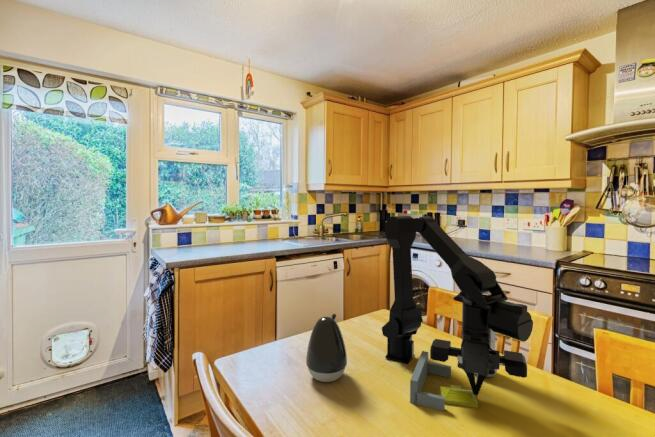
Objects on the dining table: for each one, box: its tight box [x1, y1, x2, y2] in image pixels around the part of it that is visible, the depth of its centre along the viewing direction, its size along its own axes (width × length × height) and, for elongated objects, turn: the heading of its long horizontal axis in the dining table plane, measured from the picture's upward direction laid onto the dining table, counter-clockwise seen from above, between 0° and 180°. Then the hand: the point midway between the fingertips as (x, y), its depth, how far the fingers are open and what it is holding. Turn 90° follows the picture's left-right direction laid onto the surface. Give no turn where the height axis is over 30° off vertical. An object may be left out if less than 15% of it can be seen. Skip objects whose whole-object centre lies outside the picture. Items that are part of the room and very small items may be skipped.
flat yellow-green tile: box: [439, 384, 479, 409], centre depth 72 cm, size 10×9×3 cm
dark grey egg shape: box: [305, 313, 348, 383], centre depth 80 cm, size 10×10×15 cm
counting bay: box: [409, 350, 452, 412], centre depth 75 cm, size 7×15×5 cm, turn 154°
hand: (475, 394), depth 71 cm, fingers closed
